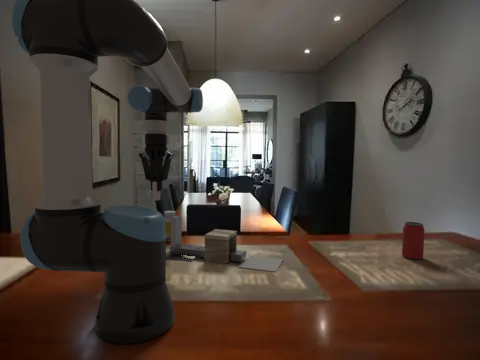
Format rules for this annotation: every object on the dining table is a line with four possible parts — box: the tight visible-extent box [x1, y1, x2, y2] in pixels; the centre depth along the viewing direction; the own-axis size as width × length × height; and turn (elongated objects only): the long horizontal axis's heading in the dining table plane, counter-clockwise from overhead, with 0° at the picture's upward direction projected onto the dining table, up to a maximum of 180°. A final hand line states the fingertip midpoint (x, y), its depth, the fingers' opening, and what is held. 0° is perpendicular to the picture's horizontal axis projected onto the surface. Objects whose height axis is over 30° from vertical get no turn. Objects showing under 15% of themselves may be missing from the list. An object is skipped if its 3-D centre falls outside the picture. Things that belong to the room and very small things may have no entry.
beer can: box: [401, 221, 426, 261], centre depth 109 cm, size 7×7×12 cm
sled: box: [169, 215, 247, 263], centre depth 106 cm, size 5×26×12 cm, turn 72°
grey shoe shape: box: [166, 250, 194, 262], centre depth 109 cm, size 12×12×1 cm
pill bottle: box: [163, 210, 177, 242], centre depth 128 cm, size 6×6×12 cm
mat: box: [237, 255, 284, 273], centre depth 100 cm, size 12×12×1 cm
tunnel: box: [204, 228, 238, 264], centre depth 104 cm, size 9×8×9 cm
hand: (156, 199), depth 111 cm, fingers closed
